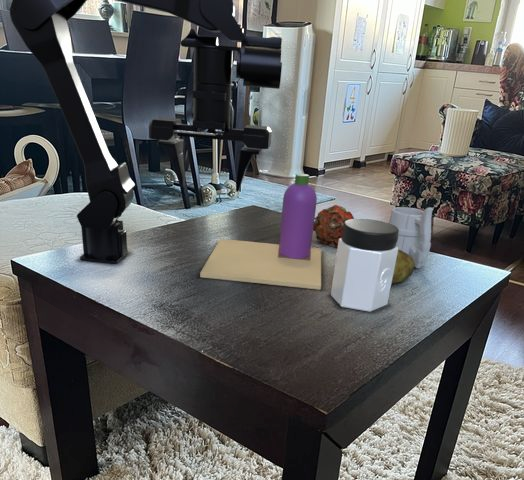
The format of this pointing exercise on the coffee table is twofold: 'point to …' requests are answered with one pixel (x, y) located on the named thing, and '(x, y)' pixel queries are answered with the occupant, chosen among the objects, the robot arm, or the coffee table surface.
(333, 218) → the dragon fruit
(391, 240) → the jar
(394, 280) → the potato
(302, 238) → the purple bottle
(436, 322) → the coffee table surface
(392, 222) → the mug
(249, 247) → the cork mat
